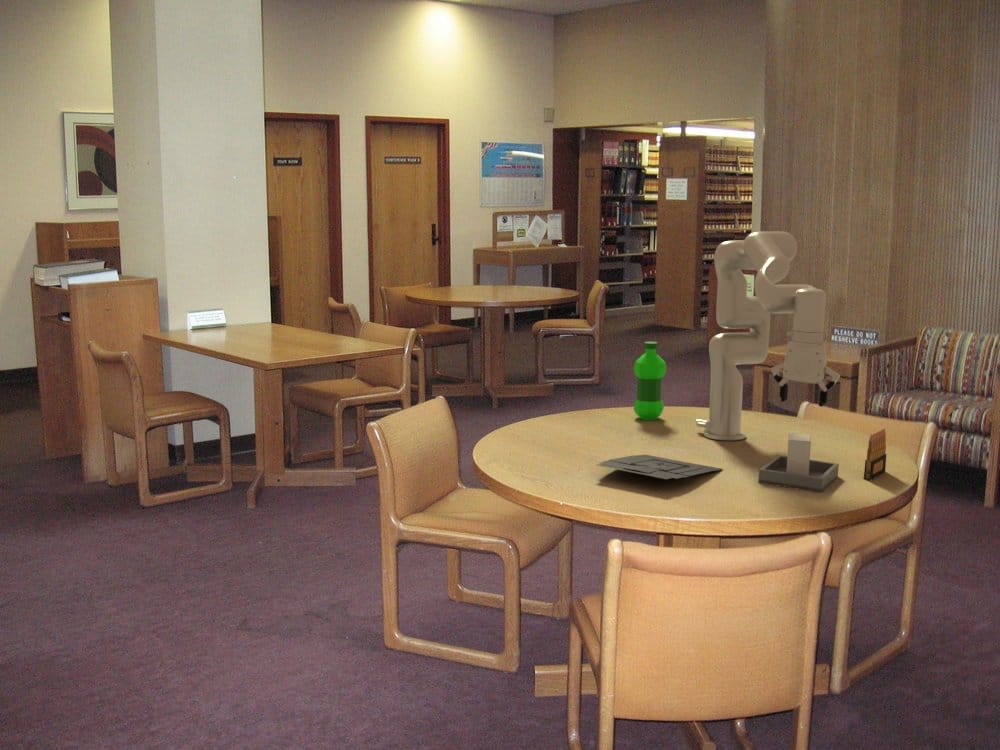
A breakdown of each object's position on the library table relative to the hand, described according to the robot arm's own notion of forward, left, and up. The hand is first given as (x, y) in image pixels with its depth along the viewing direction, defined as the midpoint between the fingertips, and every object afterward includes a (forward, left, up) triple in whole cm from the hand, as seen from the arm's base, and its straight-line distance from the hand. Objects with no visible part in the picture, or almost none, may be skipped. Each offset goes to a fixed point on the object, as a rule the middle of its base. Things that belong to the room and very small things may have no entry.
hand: (802, 403), depth 266 cm
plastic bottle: (-61, +45, -21) cm, 78 cm away
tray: (0, 0, -20) cm, 20 cm away
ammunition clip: (+16, +15, -21) cm, 30 cm away
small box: (0, 0, -20) cm, 20 cm away
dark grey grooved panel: (-33, -15, -21) cm, 42 cm away
